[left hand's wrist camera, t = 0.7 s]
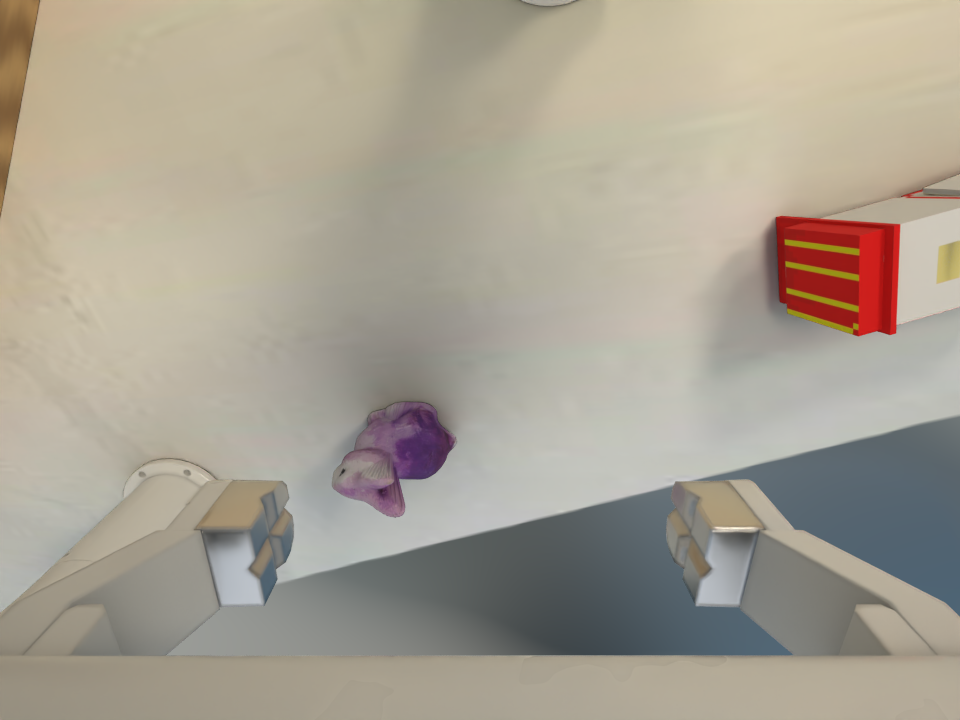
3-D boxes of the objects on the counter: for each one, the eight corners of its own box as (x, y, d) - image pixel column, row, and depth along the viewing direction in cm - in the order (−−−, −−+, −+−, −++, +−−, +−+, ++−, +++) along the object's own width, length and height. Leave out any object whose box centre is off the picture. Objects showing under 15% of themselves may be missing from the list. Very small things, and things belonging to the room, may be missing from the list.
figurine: (345, 429, 61) (305, 508, 47) (408, 378, 58) (386, 445, 44) (400, 481, 63) (377, 570, 49) (462, 434, 61) (457, 514, 47)
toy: (1185, 263, 44) (866, 356, 43) (1013, 247, 57) (761, 319, 55) (1221, 113, 40) (868, 211, 39) (1026, 132, 53) (755, 206, 51)
